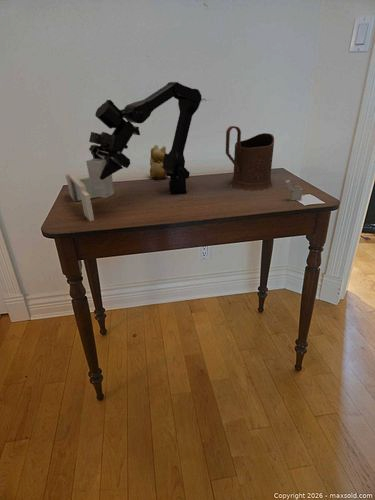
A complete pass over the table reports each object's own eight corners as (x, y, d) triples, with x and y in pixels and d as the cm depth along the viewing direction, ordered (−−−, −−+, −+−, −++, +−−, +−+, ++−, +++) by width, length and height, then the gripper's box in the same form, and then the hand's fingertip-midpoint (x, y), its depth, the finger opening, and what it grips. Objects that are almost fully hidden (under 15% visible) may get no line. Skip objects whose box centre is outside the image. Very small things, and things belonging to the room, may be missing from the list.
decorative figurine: (171, 176, 150) (170, 144, 143) (163, 181, 143) (161, 148, 136) (154, 175, 153) (152, 143, 146) (145, 179, 147) (142, 146, 140)
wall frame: (69, 195, 129) (64, 170, 124) (74, 195, 129) (68, 169, 124) (89, 221, 104) (83, 190, 99) (94, 220, 105) (89, 189, 100)
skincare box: (113, 194, 108) (108, 159, 102) (105, 198, 105) (99, 162, 99) (100, 192, 111) (94, 158, 105) (92, 195, 107) (85, 160, 101)
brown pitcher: (282, 185, 134) (289, 123, 122) (240, 196, 122) (244, 129, 110) (251, 176, 148) (255, 119, 136) (211, 185, 136) (212, 124, 124)
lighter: (299, 198, 119) (302, 177, 115) (301, 199, 117) (304, 179, 113) (281, 200, 118) (284, 179, 114) (284, 201, 116) (286, 180, 112)
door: (75, 201, 121) (71, 180, 117) (74, 199, 123) (69, 178, 119) (114, 194, 128) (111, 173, 124) (112, 192, 130) (109, 172, 126)
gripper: (89, 119, 105) (64, 158, 104) (116, 123, 92) (88, 168, 91) (113, 140, 113) (90, 176, 112) (141, 147, 100) (116, 187, 100)
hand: (95, 177), depth 104 cm, fingers closed on skincare box, 7 cm apart
